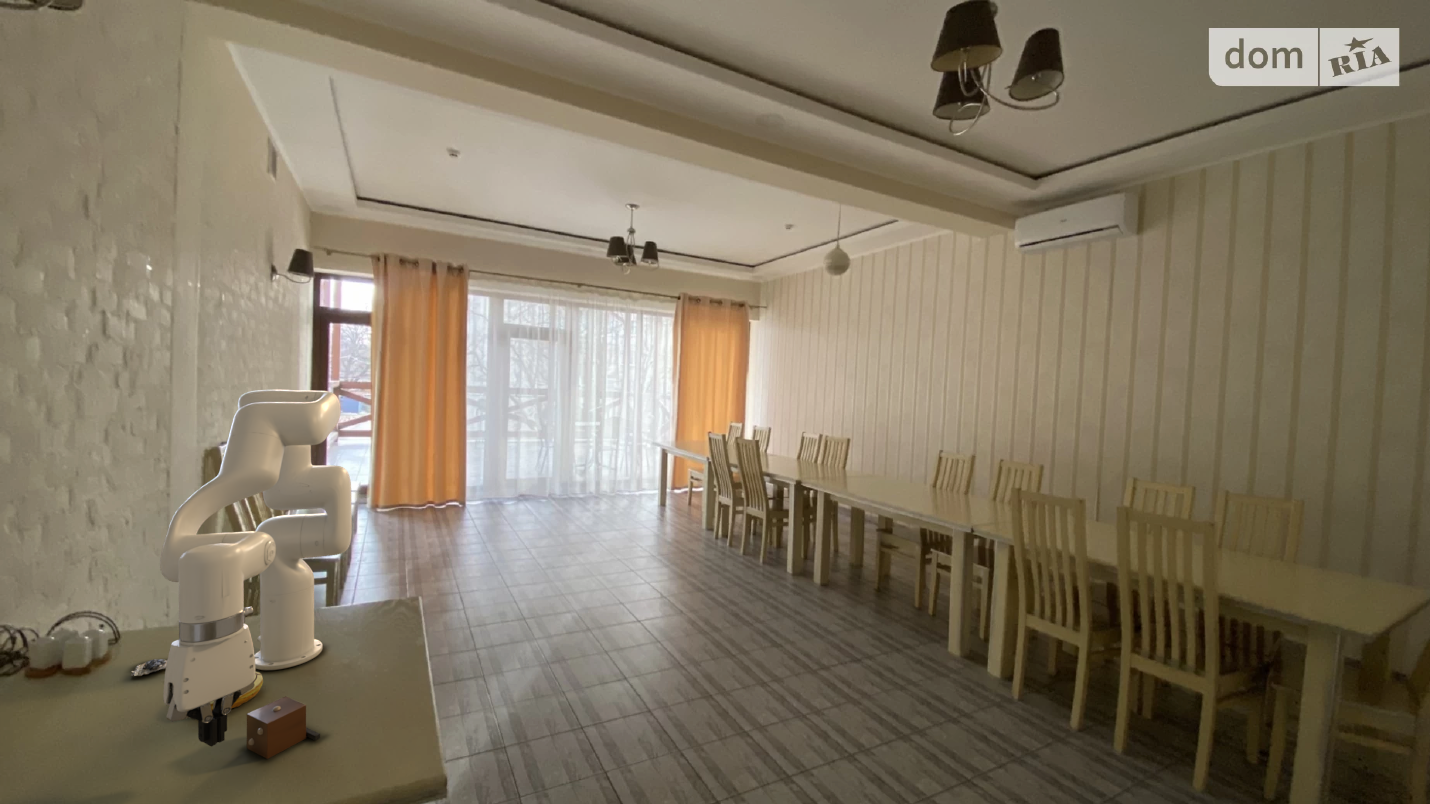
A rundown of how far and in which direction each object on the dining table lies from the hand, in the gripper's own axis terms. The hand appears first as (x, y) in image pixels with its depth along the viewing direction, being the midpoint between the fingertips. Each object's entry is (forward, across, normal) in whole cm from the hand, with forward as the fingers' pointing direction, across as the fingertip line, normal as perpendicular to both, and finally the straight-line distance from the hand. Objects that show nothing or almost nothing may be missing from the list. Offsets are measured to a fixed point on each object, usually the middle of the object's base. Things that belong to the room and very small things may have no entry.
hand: (212, 740), depth 88 cm
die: (+6, -9, 0) cm, 11 cm away
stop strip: (+6, -13, 0) cm, 14 cm away
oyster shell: (+6, -11, -49) cm, 51 cm away
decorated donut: (+6, -12, -22) cm, 26 cm away
